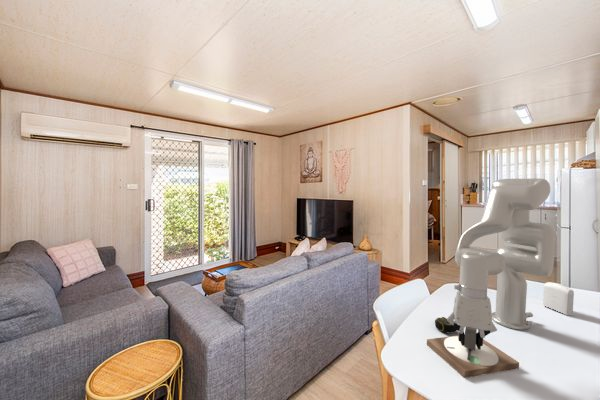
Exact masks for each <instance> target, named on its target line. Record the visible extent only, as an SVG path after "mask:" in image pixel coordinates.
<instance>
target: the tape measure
mask: <svg viewBox="0 0 600 400" xmlns="http://www.w3.org/2000/svg"><path fill="white" fill-rule="evenodd" d="M434 323H435V324H434V325H435V328H436V329H437V330H439V331H440V332H442V333H444V334H445V333H447V334H453V333H454V332H455V333H456V332H457V331H458V330H457V329H456V328H455V327H454V326H453V325H452V324H450V323H449V322H448V321H447V318H446V317H444V316H442V317H437V318H436V319H435V320H434Z"/></svg>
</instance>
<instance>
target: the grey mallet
mask: <svg viewBox="0 0 600 400" xmlns="http://www.w3.org/2000/svg"><path fill="white" fill-rule="evenodd" d="M476 333H478V329H474V328H469V327H465V328H464V334H465V341H464V347H465V348H467V349H468V357H467V360H470V356H471V351H473V350H475V349H476Z"/></svg>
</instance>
